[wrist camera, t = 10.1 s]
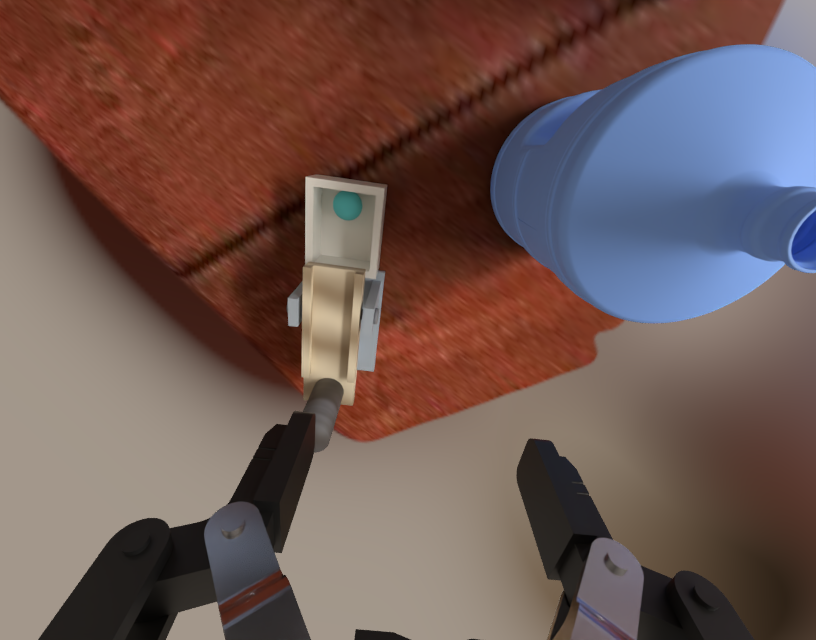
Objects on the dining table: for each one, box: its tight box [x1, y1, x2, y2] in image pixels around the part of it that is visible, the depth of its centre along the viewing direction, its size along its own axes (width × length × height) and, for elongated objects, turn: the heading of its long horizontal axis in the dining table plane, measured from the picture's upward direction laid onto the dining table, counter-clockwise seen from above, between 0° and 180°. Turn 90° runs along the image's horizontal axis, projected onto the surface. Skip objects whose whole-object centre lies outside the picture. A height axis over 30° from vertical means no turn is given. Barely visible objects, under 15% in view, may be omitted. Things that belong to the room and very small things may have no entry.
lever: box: [301, 262, 366, 452], centre depth 35 cm, size 17×6×9 cm, turn 172°
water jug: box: [490, 44, 816, 323], centre depth 26 cm, size 16×16×28 cm
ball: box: [333, 191, 362, 221], centre depth 38 cm, size 3×3×3 cm
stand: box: [287, 270, 385, 372], centre depth 42 cm, size 15×10×9 cm, turn 172°
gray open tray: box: [305, 174, 388, 279], centre depth 39 cm, size 10×8×4 cm
